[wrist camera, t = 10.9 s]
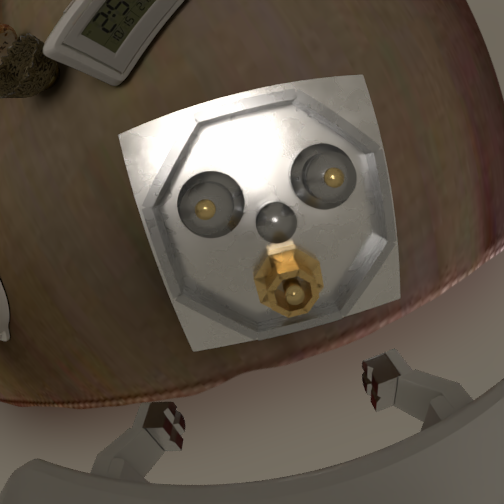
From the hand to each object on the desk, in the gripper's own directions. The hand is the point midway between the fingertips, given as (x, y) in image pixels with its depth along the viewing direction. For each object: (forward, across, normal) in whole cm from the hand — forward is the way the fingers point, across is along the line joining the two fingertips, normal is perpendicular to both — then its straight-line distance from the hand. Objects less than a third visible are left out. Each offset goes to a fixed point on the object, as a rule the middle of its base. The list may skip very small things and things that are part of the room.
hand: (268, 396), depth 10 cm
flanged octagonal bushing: (+18, -3, +3) cm, 18 cm away
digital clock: (+19, +5, -28) cm, 35 cm away
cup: (+20, +18, -28) cm, 39 cm away
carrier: (+19, -3, -3) cm, 19 cm away
